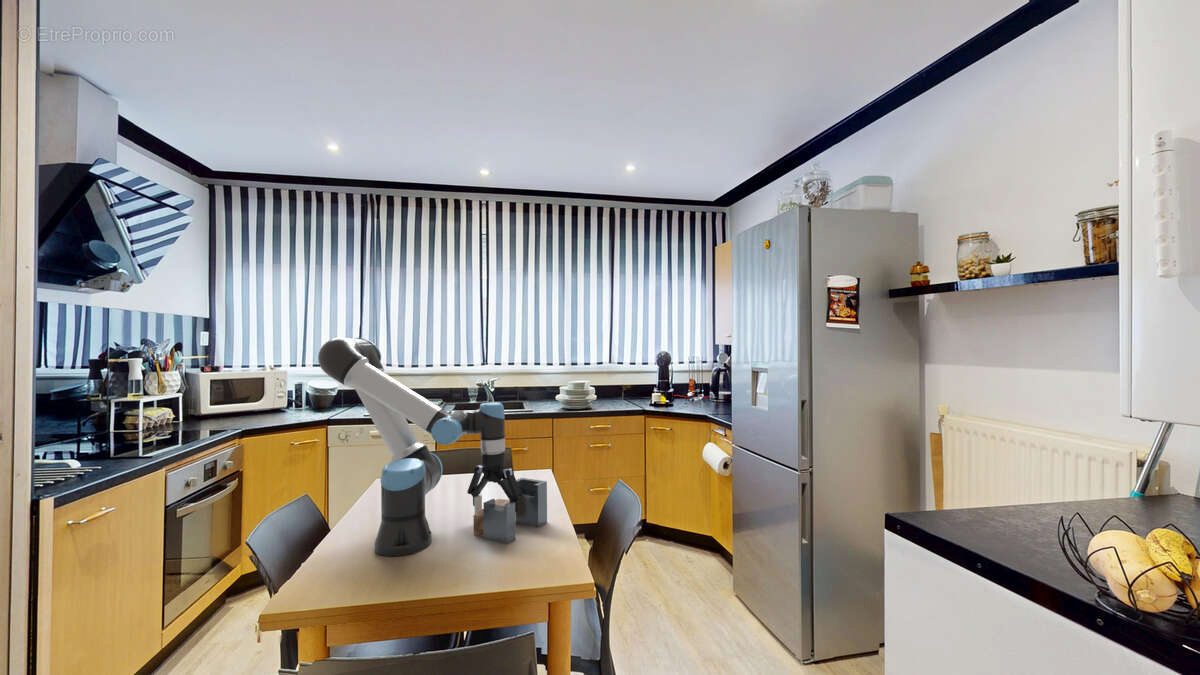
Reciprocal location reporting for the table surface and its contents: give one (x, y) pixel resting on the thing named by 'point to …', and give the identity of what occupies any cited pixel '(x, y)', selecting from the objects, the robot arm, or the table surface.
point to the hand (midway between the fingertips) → (495, 519)
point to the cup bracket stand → (529, 512)
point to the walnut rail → (479, 517)
